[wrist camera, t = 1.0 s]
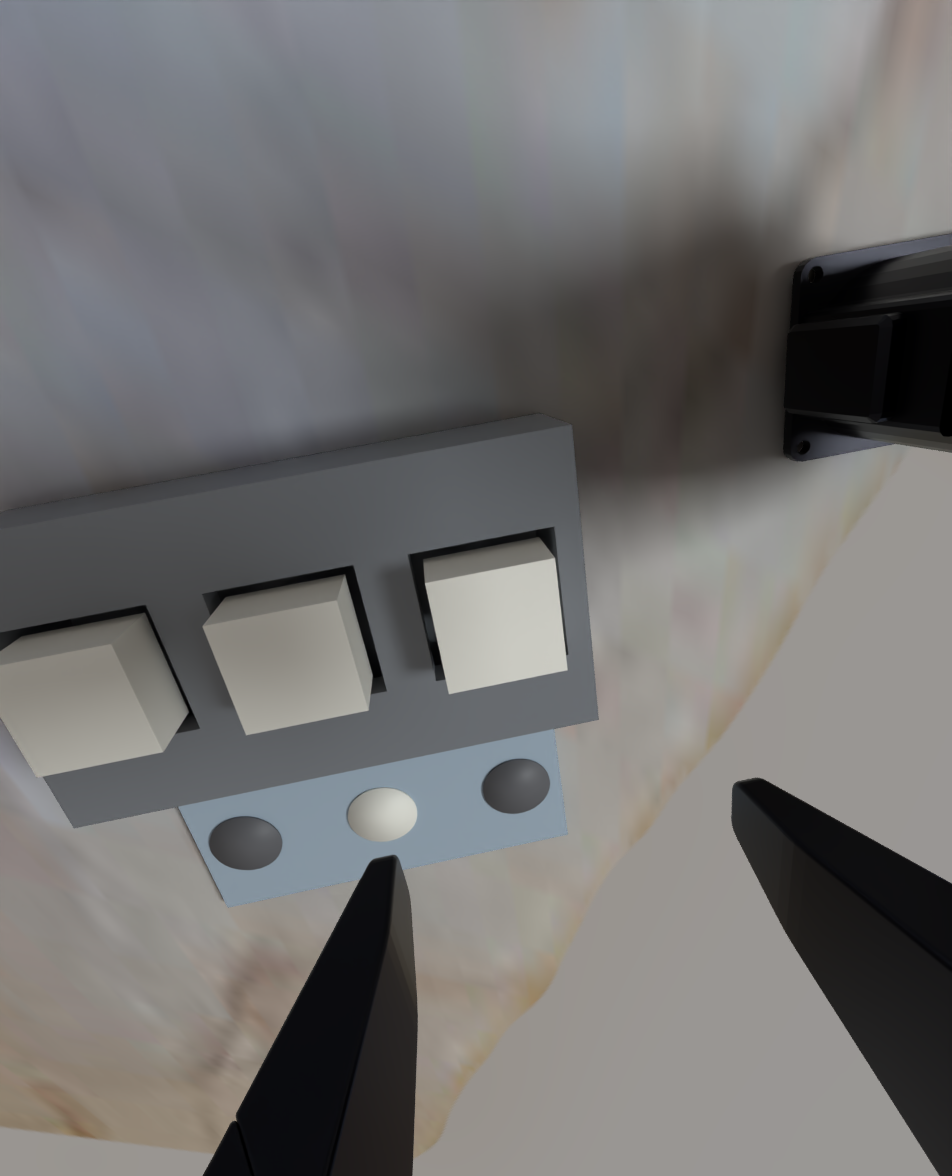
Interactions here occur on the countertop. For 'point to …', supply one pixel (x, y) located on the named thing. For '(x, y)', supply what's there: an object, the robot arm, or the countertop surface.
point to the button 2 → (496, 614)
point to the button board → (299, 554)
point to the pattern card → (380, 818)
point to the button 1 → (89, 695)
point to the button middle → (291, 654)
